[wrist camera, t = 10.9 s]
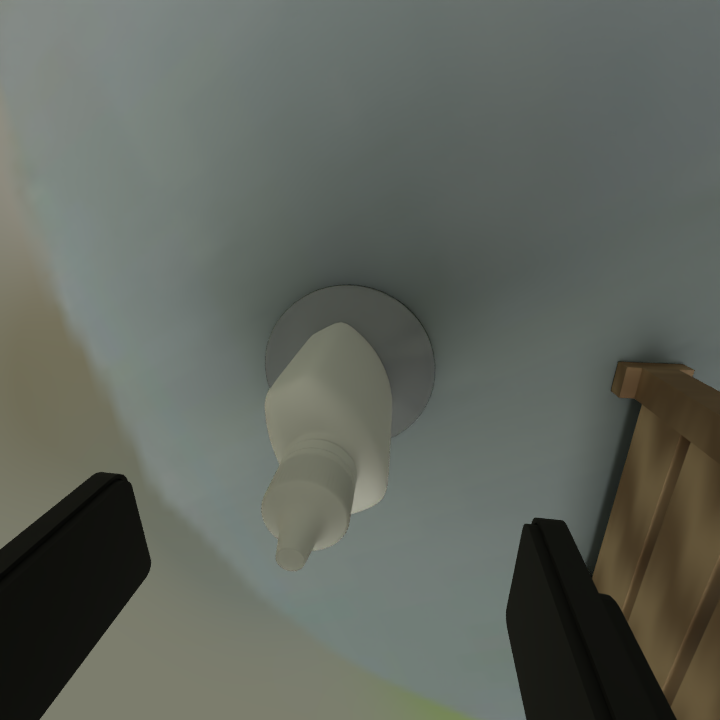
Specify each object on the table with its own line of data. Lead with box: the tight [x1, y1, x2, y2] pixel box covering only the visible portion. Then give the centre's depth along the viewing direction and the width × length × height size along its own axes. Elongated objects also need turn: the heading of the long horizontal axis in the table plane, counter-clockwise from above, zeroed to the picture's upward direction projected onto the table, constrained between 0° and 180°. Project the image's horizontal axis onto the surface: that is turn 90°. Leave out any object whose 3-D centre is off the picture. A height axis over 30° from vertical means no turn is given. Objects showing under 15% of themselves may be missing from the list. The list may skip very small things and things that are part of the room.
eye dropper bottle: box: [261, 322, 392, 571], centre depth 15 cm, size 4×6×12 cm
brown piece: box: [592, 362, 720, 720], centre depth 17 cm, size 16×3×11 cm, turn 0°
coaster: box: [265, 285, 435, 438], centre depth 21 cm, size 9×9×1 cm
